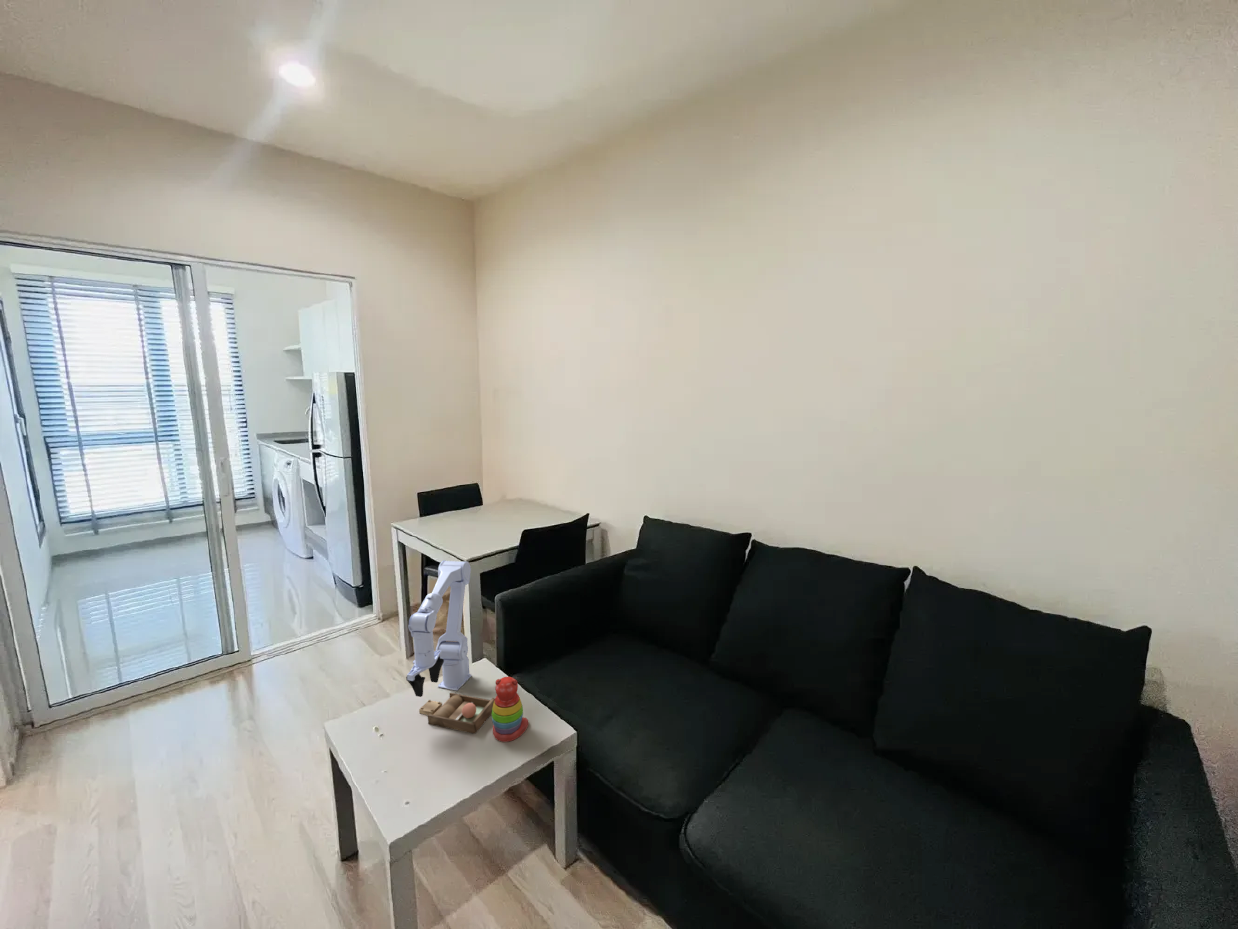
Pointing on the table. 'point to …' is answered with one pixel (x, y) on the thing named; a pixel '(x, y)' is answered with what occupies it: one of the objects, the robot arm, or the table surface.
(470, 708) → the ball
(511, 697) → the stacking bear
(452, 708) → the wooden tray
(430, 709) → the wooden footed board
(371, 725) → the table surface
